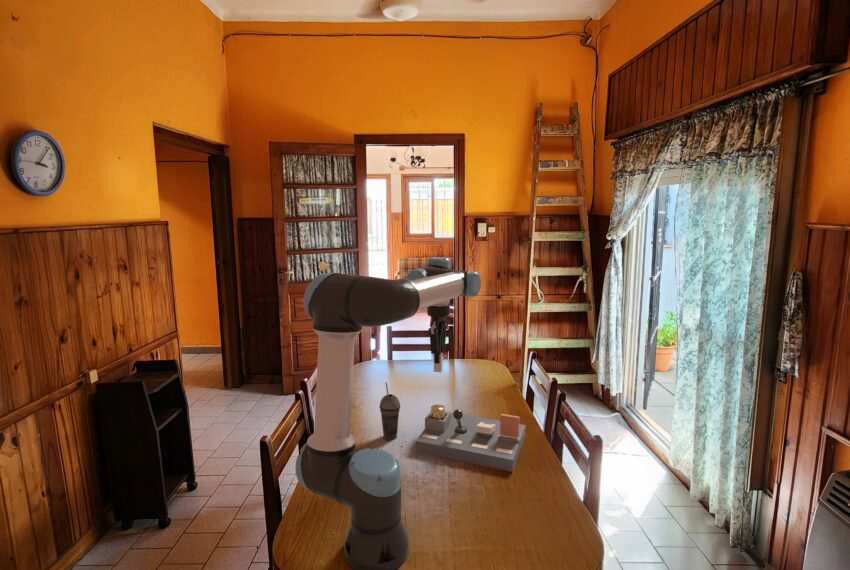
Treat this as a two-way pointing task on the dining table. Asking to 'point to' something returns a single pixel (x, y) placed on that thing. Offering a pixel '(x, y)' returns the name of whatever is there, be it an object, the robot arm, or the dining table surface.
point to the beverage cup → (389, 415)
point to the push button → (438, 412)
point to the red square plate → (509, 425)
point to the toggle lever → (458, 417)
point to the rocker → (485, 428)
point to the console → (470, 442)
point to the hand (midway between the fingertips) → (438, 371)
